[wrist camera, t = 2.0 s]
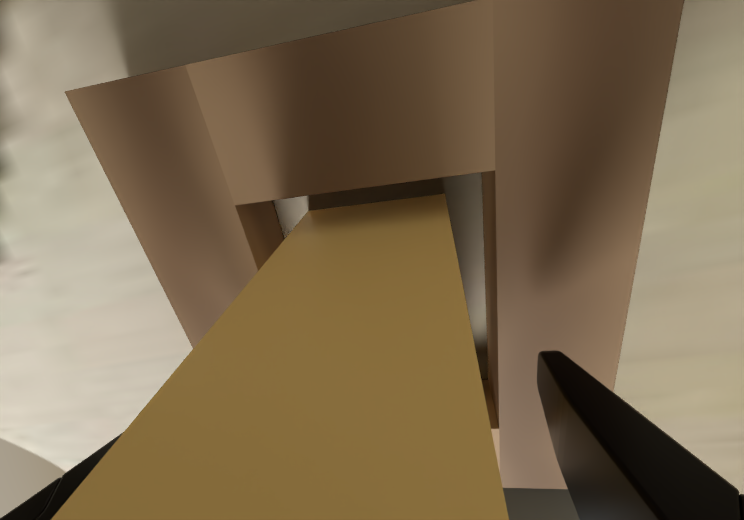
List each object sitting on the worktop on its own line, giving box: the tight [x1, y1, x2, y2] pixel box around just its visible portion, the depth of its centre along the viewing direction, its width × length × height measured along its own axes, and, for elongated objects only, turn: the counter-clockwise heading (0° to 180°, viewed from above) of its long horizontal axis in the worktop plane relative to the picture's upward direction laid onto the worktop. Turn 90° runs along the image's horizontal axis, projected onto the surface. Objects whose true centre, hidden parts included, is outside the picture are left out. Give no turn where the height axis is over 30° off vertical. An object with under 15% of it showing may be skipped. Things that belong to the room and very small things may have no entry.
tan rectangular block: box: [51, 194, 509, 520], centre depth 7 cm, size 4×6×10 cm, turn 10°
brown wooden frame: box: [65, 0, 684, 489], centre depth 11 cm, size 12×14×2 cm
